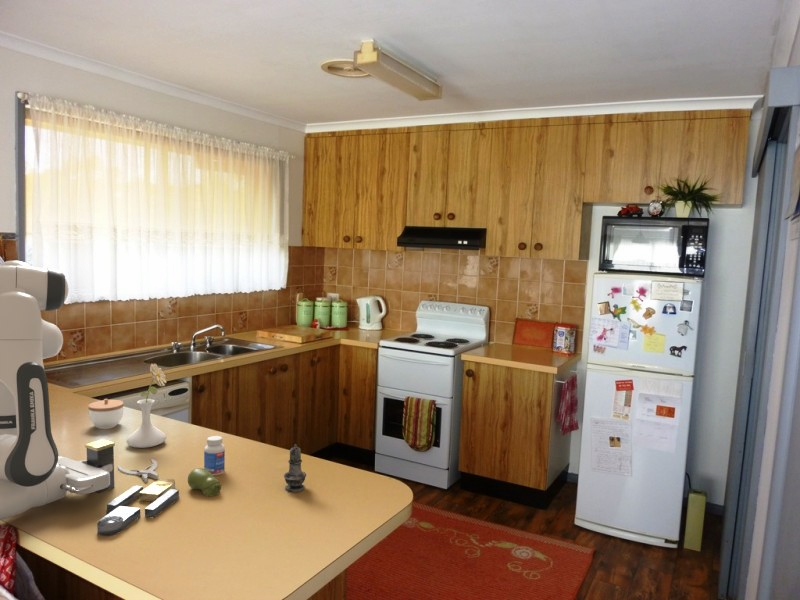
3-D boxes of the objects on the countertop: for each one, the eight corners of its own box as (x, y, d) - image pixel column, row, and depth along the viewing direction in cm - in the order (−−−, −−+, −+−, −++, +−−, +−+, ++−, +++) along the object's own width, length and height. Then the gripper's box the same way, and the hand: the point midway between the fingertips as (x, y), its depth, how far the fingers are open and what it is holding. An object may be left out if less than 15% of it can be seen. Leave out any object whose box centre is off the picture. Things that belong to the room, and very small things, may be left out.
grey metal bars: (135, 493, 148) (135, 485, 148) (178, 497, 146) (178, 489, 146) (78, 532, 128) (77, 523, 127) (128, 538, 126) (127, 529, 126)
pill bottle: (218, 477, 159) (218, 442, 158) (200, 475, 160) (200, 440, 159) (228, 469, 164) (228, 435, 163) (210, 467, 165) (210, 434, 164)
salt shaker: (310, 485, 155) (310, 441, 154) (299, 494, 150) (300, 449, 149) (290, 482, 157) (291, 438, 156) (279, 490, 152) (279, 445, 150)
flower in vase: (148, 453, 175) (146, 371, 172) (117, 448, 178) (116, 367, 176) (177, 439, 187) (177, 362, 184) (148, 434, 191) (147, 359, 188)
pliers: (153, 455, 170) (170, 472, 158) (153, 460, 170) (170, 477, 159) (116, 463, 164) (132, 480, 152) (116, 468, 164) (132, 486, 152)
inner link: (161, 484, 153) (161, 477, 153) (178, 486, 152) (178, 479, 152) (139, 500, 144) (139, 492, 144) (158, 502, 143) (158, 494, 143)
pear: (202, 462, 155) (227, 477, 150) (199, 480, 156) (225, 496, 151) (184, 468, 150) (209, 484, 145) (181, 487, 151) (207, 504, 146)
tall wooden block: (98, 493, 147) (97, 448, 146) (86, 489, 149) (85, 444, 148) (115, 486, 151) (114, 442, 150) (103, 482, 153) (102, 439, 152)
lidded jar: (130, 425, 200) (130, 398, 199) (100, 433, 191) (99, 405, 190) (112, 419, 205) (112, 393, 204) (82, 427, 196) (81, 399, 195)
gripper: (75, 479, 133) (129, 460, 145) (24, 461, 143) (79, 444, 155) (76, 506, 134) (130, 485, 146) (25, 486, 143) (80, 467, 155)
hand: (103, 464), depth 150 cm, fingers closed on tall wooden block, 4 cm apart
